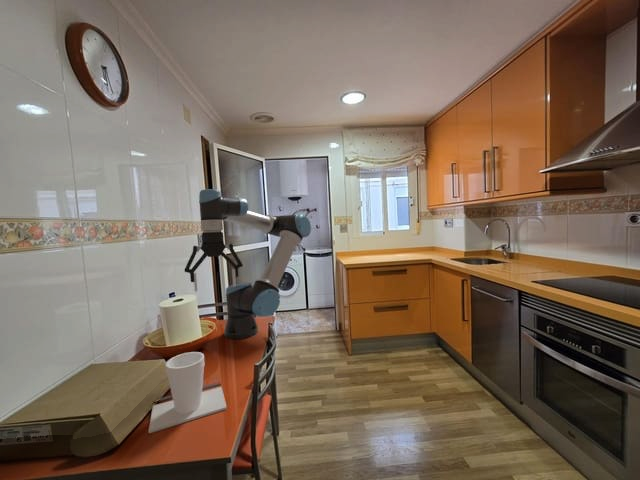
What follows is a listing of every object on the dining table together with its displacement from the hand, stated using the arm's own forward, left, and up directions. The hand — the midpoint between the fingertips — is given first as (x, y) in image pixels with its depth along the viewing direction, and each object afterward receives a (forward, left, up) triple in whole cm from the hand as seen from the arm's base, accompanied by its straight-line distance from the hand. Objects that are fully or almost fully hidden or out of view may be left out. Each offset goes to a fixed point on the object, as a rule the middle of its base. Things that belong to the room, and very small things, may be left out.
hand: (215, 288), depth 104 cm
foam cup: (+11, +28, -26) cm, 40 cm away
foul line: (+11, +19, -27) cm, 35 cm away
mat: (+11, +28, -27) cm, 40 cm away
